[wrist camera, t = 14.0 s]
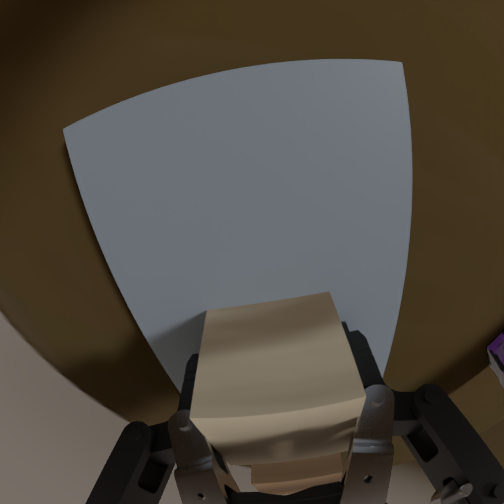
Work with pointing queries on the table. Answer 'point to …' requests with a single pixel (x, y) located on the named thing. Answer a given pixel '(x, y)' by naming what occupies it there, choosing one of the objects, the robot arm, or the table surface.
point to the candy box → (497, 357)
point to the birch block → (276, 381)
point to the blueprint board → (253, 196)
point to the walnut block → (296, 474)
